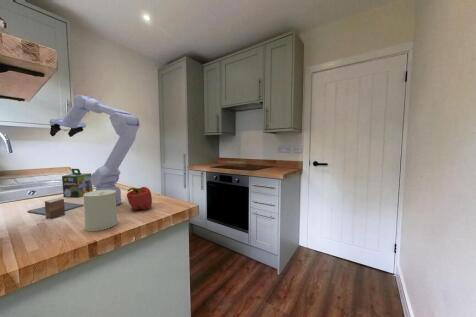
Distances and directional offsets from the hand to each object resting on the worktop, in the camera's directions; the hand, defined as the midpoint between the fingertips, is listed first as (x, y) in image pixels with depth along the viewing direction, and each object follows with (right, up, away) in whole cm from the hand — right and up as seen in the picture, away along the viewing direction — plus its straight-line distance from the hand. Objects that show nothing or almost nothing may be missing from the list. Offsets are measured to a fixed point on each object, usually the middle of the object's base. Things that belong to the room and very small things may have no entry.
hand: (60, 135), depth 96 cm
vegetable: (+44, -34, -11) cm, 57 cm away
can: (+40, -35, -29) cm, 60 cm away
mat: (+9, -33, -12) cm, 37 cm away
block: (+17, -34, -20) cm, 43 cm away
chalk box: (0, -32, +11) cm, 34 cm away
